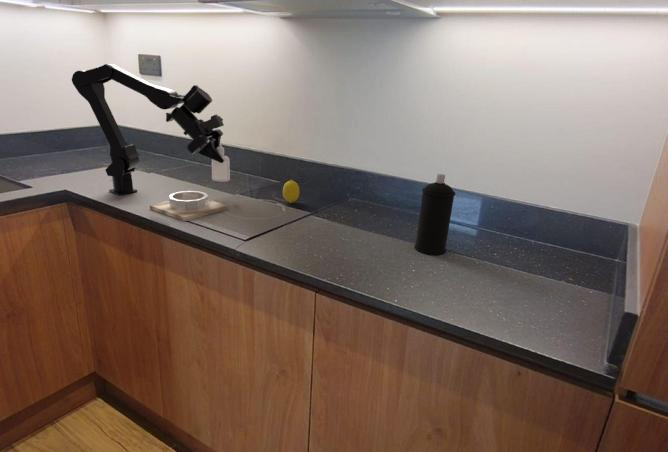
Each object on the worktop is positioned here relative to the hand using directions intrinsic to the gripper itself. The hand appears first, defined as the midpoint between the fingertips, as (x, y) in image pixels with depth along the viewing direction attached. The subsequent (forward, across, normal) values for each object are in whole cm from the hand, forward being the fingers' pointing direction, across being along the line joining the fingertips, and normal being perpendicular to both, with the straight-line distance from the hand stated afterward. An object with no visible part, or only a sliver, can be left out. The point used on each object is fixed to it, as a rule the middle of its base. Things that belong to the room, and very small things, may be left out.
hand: (224, 160), depth 138 cm
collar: (+3, -13, +14) cm, 19 cm away
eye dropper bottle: (+4, 0, +6) cm, 7 cm away
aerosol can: (+54, -29, -36) cm, 71 cm away
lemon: (+25, +2, -6) cm, 25 cm away
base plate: (+4, -13, +14) cm, 20 cm away
